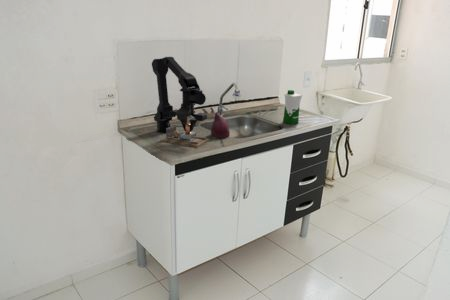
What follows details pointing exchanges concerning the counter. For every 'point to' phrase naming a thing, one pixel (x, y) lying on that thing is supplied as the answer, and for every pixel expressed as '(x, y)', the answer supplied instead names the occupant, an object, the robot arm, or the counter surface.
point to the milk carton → (291, 107)
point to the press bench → (173, 137)
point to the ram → (187, 133)
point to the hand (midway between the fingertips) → (188, 131)
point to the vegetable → (220, 127)
